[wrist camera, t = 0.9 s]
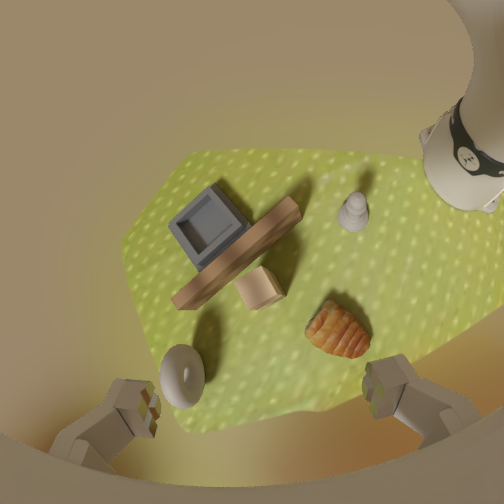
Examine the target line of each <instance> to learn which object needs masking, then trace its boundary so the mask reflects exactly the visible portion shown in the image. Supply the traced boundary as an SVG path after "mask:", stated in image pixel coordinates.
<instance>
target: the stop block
mask: <svg viewBox="0 0 504 504" xmlns="http://www.w3.org/2000/svg"><path fill="white" fill-rule="evenodd" d="M234 284H235V286H236V287H237V289H238V291H239V293H240V295H241V297H242V299H243V301H244V303H245V305H246V307H247V308H248V310H263V309H265V308H267V307H268V306H270V305H272V304H274V303H275V302H277V301H279V300H281V299H283V298H284V297H286V295H285V293H284V292H283V290H282V288H281V286H280V284H279V283H278V281H277V279H276V277H275V275H274V274H273V273H272V272H271V271H269V270H267V269H266V268H264V267H263V266H260V267H258V268H256V269H255V270H253V271H251V272H249V273H248V274H246V275H244V276H243V277H241V278H239V279H238V280H236V281H234Z"/></svg>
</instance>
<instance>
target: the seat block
mask: <svg viewBox="0 0 504 504" xmlns="http://www.w3.org/2000/svg"><path fill="white" fill-rule="evenodd" d="M168 227H169V229H170V230H171V232H172V233H173V235H174V236H175V238H176V239H177V241H178V242H179V244H180V245H181V246H182V248H183V249H184V251H185V252H186V254H187V255H188V257H189V258H190V260H191V261H192V262H193V264H194V265H195V267H196V268H197V269H198V271H199V272H201V271H202V270H203V269H205V268H206V267H207V266H208V265H209V264H210V263H211V262H212V261H214V260H215V259H216V258H217V257H218V256H219V255H220V254H222V253H223V252H224V251H225V250H226V249H227V248H228V247H229V246H231V245H232V244H233V243H234V242H235V241H236V240H238V239H239V238H240V237H241V236H242V235H243V234H244V233H246V232H247V231H248V230H249V229H250V228H251V227H252V225H251V224H250V223H249V222H248V220H247V219H246V218H245V217H244V216H243V215H242V213H241V212H240V211H239V210H238V209H237V208H236V206H235V205H234V204H233V203H232V202H231V201H230V200H229V198H228V197H227V196H226V195H225V194H224V193H223V192H222V190H221V189H220V188H219V187H218V186H217V185H216V184H215V183H214V184H213V185H212V186H211V187H210V186H208V187H207V188H206V189H205V190H204V191H203V192H202V193H201V194H199V195H198V196H197V197H196V198H195V199H194V200H193V201H192V202H191V203H190V204H188V205H187V206H186V207H185V208H184V209H183V210H182V211H181V212H180V213H179V214H178V215H177V216H176V217H175V218H173V219H172V220H171V221H170V222H169V225H168Z"/></svg>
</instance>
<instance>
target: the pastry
mask: <svg viewBox="0 0 504 504" xmlns="http://www.w3.org/2000/svg"><path fill="white" fill-rule="evenodd" d="M305 336H306V337H307V338H308V339H309V340H310V342H311V343H312V344H313V345H314V346H315V347H318V348H320V349H321V350H323V351H325V352H326V353H330V354H332V355H337V356H340V357H348V358H350V359H353V358H357V357H360V356H362V355H363V354H364V353H365V352H366V350H368V349H369V347H370V336H369V334H368V333H367V332H366V331H365V329H364V327H363V325H362V324H361V323H360V322H359V321H358V320H357V319H356V318H355V316H354V314H353V313H351V312H348V311H347V310H345V309H344V308H343V307H342V306H340V305H338V304H336V303H334V302H333V300H326V301H325V302H324V304H323V305H322V307H321V308H320V309H319V311H318V313H317V314H316V316H315V318H314V319H313V320H311V321H310V322H309V323H308V325H307V326H306V328H305Z"/></svg>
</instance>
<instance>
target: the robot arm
mask: <svg viewBox="0 0 504 504" xmlns="http://www.w3.org/2000/svg"><path fill="white" fill-rule="evenodd" d="M447 1H448V2H449V3H450V4H451V5H452V6H453V8H454V9H455V10H456V12H457V13H458V15H459V16H460V18H461V19H462V21H463V23H464V25H465V27H466V29H467V31H468V34H469V36H470V39H471V42H472V46H473V51H474V68H473V73H472V77H471V80H470V83H469V86H468V88H467V91H466V93H465V95H464V97H462V98H461V99H460V100H459V101H458V103H457V104H456V105H454V106H453V107H452V108H451V109H450V111H449V112H445V113H444V114H443V116H441V117H440V118H439V119H438V121H437V123H436V124H435V125H433V126H431V127H429V128H427V129H425V130H423V131H422V132H421V134H420V135H419V139H420V142H421V145H422V147H423V151H424V155H423V163H424V169H425V173H426V176H427V178H428V180H429V182H430V184H431V186H432V187H433V189H434V190H435V191H436V192H437V194H438V195H439V196H440V197H441V198H442V199H443V200H445V201H446V202H447V203H449V204H450V205H452V206H454V207H456V208H458V209H462V210H481V211H484V212H486V213H493V212H494V211H495V209H496V207H497V204H498V201H499V198H500V195H501V193H502V192H503V191H504V0H447ZM429 134H430V135H429ZM492 201H493V202H492ZM365 371H366V373H367V374H366V375H365V376H364V377H363V381H362V391H363V395H364V397H365V400H367V401H369V402H370V406H369V409H370V411H371V413H372V416H373V418H374V420H376V419H379V418H383V417H387V416H391V415H394V416H395V417H396V418H398V419H399V420H401V421H402V422H403V423H405V424H406V425H408V426H409V427H410V428H412V429H413V430H415V431H416V432H418V433H419V434H421V435H422V436H424V437H425V439H424V440H423V442H422V443H421V445H420V446H419V448H418V450H417V451H415V452H412V453H410V454H407V455H405V456H402V457H399V458H396V459H393V460H390V461H388V462H384V463H382V464H378V465H375V466H372V467H368V468H365V469H361V470H357V471H353V472H349V473H346V474H341V475H336V476H331V477H326V478H322V479H316V480H310V481H303V482H297V483H288V484H280V485H269V486H257V487H256V486H255V487H198V486H184V485H173V484H165V483H156V482H150V481H144V480H138V479H132V478H127V477H122V476H118V475H117V474H116V472H115V471H114V470H113V469H112V468H111V467H110V466H109V465H108V464H109V463H110V462H111V461H112V460H113V459H114V458H115V457H116V456H117V455H118V454H119V453H120V452H121V451H122V450H123V449H124V448H125V447H126V446H127V445H128V444H129V443H130V442H131V441H132V440H133V439H134V437H144V438H154V437H155V433H156V429H157V424H156V422H155V421H156V420H157V419H158V418H159V417H160V414H161V402H160V399H159V396H158V395H157V394H156V393H154V389H155V387H154V385H153V383H152V382H151V381H142V380H131V379H119V378H116V379H115V380H114V381H113V383H112V385H111V387H110V389H109V391H108V393H107V396H106V398H105V400H104V402H103V404H102V406H98V407H96V408H95V409H93V410H92V411H90V412H89V413H87V414H86V415H84V416H83V417H81V418H80V419H78V420H77V421H75V422H74V423H72V424H71V425H69V426H68V427H66V428H64V429H63V430H61V431H60V432H59V433H58V435H57V437H56V439H55V441H54V443H53V445H52V447H51V449H50V451H49V453H48V454H46V453H44V452H41V451H39V450H36V449H34V448H32V447H29V446H27V445H25V444H23V443H21V442H19V441H17V440H15V439H12V438H11V437H9V436H7V435H5V434H3V433H1V432H0V504H504V405H502V406H501V407H499V408H498V409H496V410H495V411H493V412H492V413H490V414H489V415H487V416H485V417H484V418H482V416H481V415H480V413H479V412H478V410H477V409H476V408H475V406H474V405H473V403H472V402H471V401H470V399H469V398H468V397H465V396H463V395H461V394H458V393H456V392H454V391H451V390H449V389H447V388H445V387H442V386H440V385H438V384H436V383H433V382H431V381H429V380H427V379H425V378H423V379H420V377H419V376H418V374H417V373H416V371H415V370H414V368H413V367H412V366H411V364H410V363H409V361H408V360H407V358H406V357H405V356H404V355H403V354H399V355H395V356H391V357H387V358H383V359H379V360H375V361H371V362H367V364H366V367H365Z"/></svg>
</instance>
